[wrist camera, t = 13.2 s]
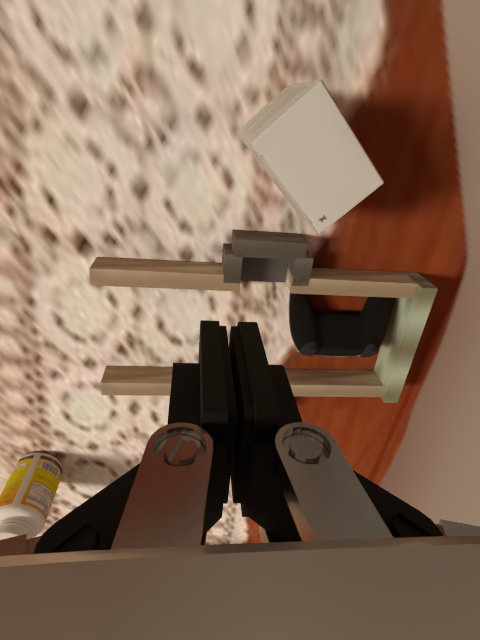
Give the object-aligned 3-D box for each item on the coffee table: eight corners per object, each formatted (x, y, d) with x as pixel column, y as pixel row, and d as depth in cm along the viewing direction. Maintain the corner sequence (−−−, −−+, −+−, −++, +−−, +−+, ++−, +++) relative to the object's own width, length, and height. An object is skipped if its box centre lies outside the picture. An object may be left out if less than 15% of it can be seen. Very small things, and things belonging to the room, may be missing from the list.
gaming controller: (281, 295, 44) (283, 357, 42) (291, 281, 40) (294, 349, 38) (374, 299, 45) (379, 360, 43) (393, 285, 41) (400, 352, 39)
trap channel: (93, 221, 36) (82, 234, 32) (428, 241, 40) (450, 254, 37) (109, 401, 46) (102, 425, 42) (375, 402, 50) (389, 425, 47)
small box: (338, 163, 36) (388, 184, 26) (289, 204, 37) (319, 238, 28) (287, 83, 32) (323, 75, 23) (234, 131, 34) (248, 143, 24)
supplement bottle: (16, 478, 50) (-22, 559, 42) (18, 447, 48) (-23, 525, 39) (62, 483, 52) (34, 562, 43) (66, 453, 49) (37, 530, 40)
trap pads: (239, 246, 38) (239, 247, 38) (289, 249, 39) (290, 250, 39) (226, 391, 47) (226, 393, 47) (267, 391, 48) (268, 393, 47)
